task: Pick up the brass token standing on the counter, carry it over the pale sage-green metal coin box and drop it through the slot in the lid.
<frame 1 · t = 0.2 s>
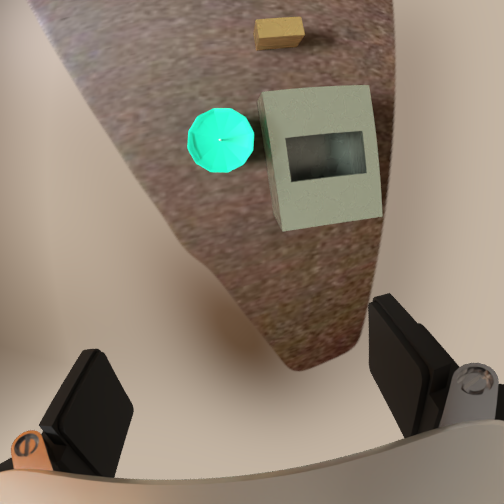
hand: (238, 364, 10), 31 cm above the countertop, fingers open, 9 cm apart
token: (275, 40, 33), on the countertop
candle: (224, 141, 37), on the countertop
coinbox: (310, 152, 38), on the countertop
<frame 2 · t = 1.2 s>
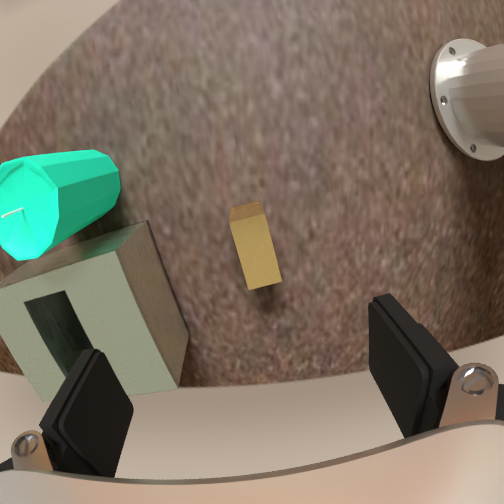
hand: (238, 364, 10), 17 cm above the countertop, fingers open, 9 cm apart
token: (252, 233, 26), on the countertop
candle: (90, 184, 24), on the countertop
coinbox: (102, 296, 28), on the countertop
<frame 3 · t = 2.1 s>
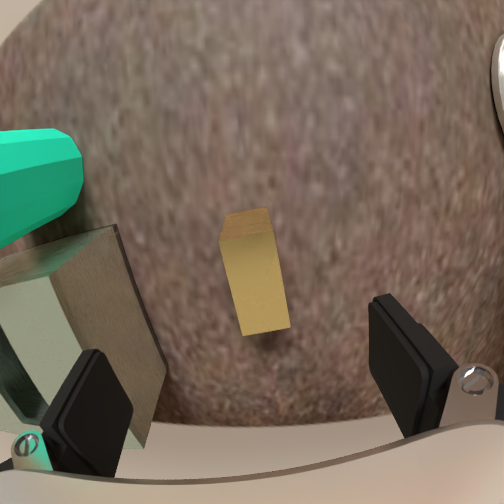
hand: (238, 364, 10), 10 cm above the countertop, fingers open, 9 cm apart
token: (254, 250, 19), on the countertop
candle: (49, 173, 18), on the countertop
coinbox: (63, 313, 21), on the countertop
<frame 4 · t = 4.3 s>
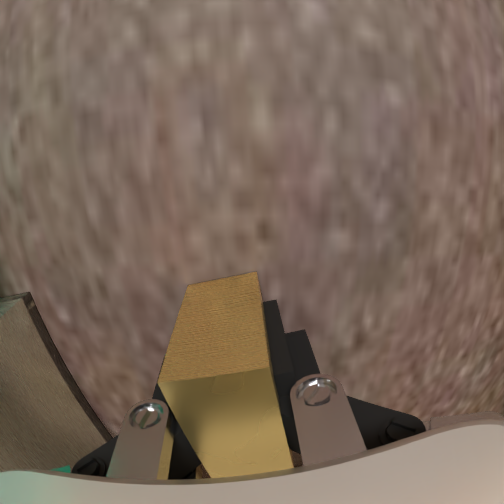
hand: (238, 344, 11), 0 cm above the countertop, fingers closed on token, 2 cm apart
token: (237, 338, 12), on the countertop, touching gripper
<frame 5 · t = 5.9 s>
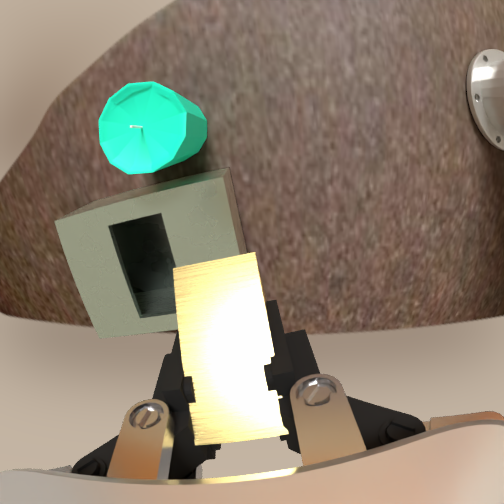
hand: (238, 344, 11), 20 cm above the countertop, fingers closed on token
token: (228, 287, 11), point 19 cm above the countertop, tilted 46°, touching gripper
candle: (176, 130, 28), on the countertop
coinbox: (171, 237, 31), on the countertop
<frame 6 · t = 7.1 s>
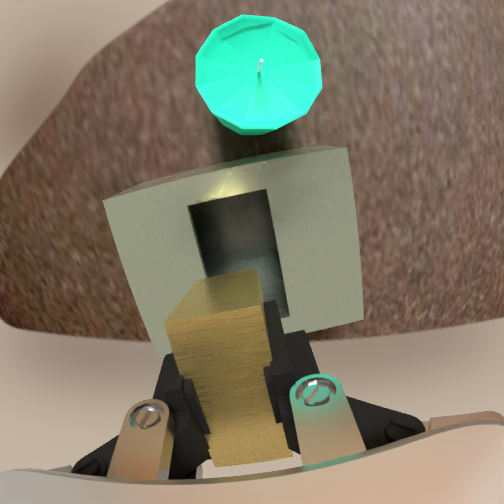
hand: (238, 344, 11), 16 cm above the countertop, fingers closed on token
token: (220, 289, 10), point 16 cm above the countertop, tilted 78°, touching gripper
candle: (251, 99, 23), on the countertop
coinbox: (240, 228, 26), on the countertop
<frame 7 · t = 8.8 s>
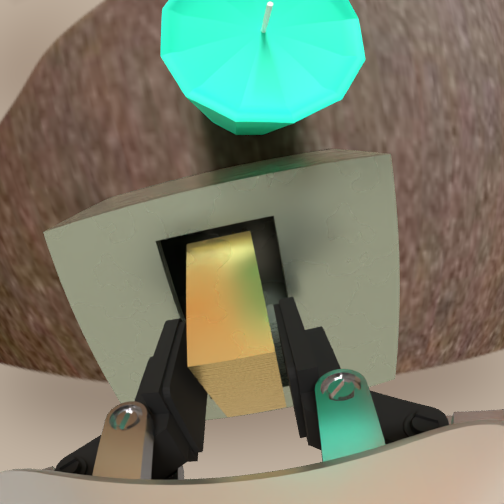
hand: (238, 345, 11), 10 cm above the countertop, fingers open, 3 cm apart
token: (222, 289, 10), point 10 cm above the countertop, tilted 115°
candle: (249, 88, 17), on the countertop
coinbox: (236, 256, 20), on the countertop
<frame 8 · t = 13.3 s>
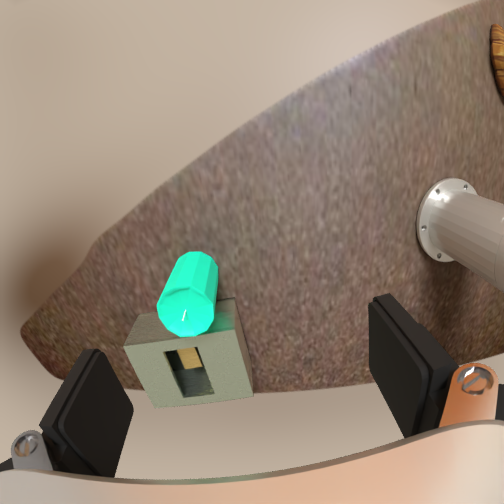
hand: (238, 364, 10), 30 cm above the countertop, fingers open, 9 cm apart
croissant: (497, 60, 33), on the countertop
token: (183, 327, 41), point 3 cm above the countertop, tilted 90°, touching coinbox
candle: (196, 272, 42), on the countertop
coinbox: (195, 338, 45), on the countertop
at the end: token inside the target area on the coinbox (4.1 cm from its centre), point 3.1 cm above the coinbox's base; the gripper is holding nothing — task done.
